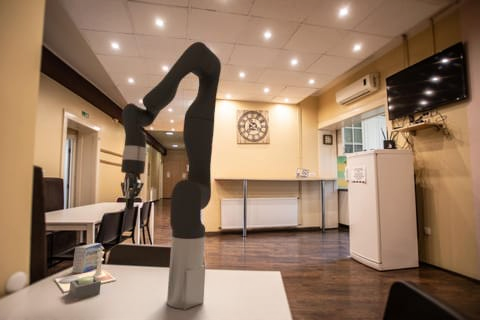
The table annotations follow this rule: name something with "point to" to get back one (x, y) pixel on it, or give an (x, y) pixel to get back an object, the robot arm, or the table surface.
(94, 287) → the button box
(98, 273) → the chess piece
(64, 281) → the sheet
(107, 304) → the table surface
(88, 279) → the button
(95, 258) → the medicine box
